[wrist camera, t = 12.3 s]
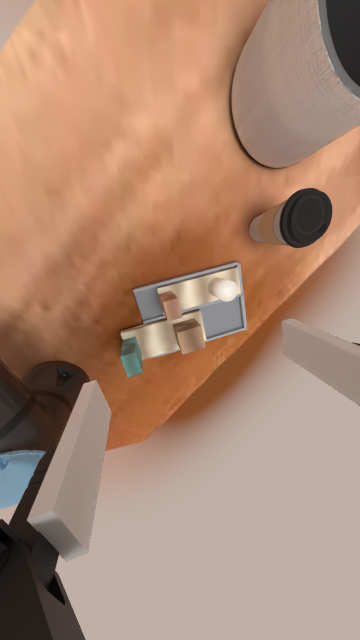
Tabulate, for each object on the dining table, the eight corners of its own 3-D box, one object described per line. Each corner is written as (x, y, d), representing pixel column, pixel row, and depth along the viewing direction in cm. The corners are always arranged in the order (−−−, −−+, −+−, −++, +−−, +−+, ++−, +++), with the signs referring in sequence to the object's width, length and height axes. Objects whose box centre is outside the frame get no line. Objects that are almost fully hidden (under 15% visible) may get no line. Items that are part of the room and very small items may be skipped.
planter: (236, 9, 33) (363, -304, 15) (338, 47, 38) (530, -153, 19) (221, 162, 40) (293, 80, 21) (308, 178, 45) (430, 123, 26)
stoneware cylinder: (209, 298, 46) (219, 304, 40) (206, 280, 44) (216, 283, 39) (226, 293, 46) (238, 298, 41) (224, 275, 45) (236, 278, 39)
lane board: (153, 354, 51) (154, 357, 49) (132, 288, 44) (132, 290, 42) (243, 326, 54) (247, 328, 52) (235, 261, 47) (239, 261, 46)
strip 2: (131, 359, 49) (130, 383, 39) (121, 330, 46) (117, 349, 37) (204, 337, 51) (218, 355, 42) (198, 308, 48) (212, 321, 39)
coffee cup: (271, 252, 49) (325, 250, 35) (237, 247, 46) (281, 243, 32) (281, 210, 46) (344, 191, 32) (246, 203, 44) (297, 178, 30)
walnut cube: (177, 344, 48) (182, 354, 43) (172, 324, 46) (176, 333, 41) (198, 337, 48) (205, 347, 43) (194, 318, 47) (201, 325, 41)
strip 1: (163, 313, 47) (169, 327, 37) (156, 287, 44) (161, 296, 35) (236, 291, 49) (260, 300, 40) (233, 266, 47) (257, 269, 37)
